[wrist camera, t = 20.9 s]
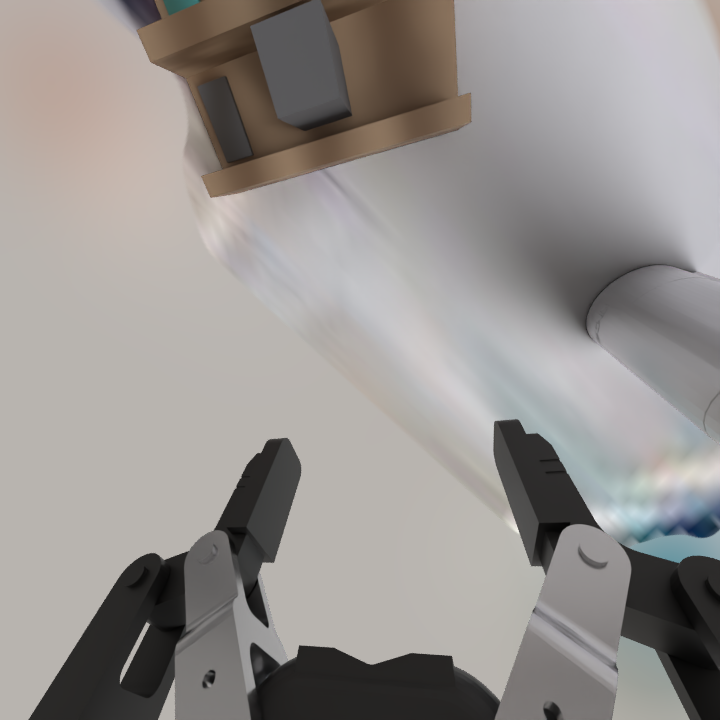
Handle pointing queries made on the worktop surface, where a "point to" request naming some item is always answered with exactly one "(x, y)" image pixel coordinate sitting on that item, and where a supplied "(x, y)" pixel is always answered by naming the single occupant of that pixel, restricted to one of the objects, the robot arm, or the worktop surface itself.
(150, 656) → the robot arm
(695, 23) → the worktop surface
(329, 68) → the charcoal plug
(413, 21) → the wooden bookshelf
